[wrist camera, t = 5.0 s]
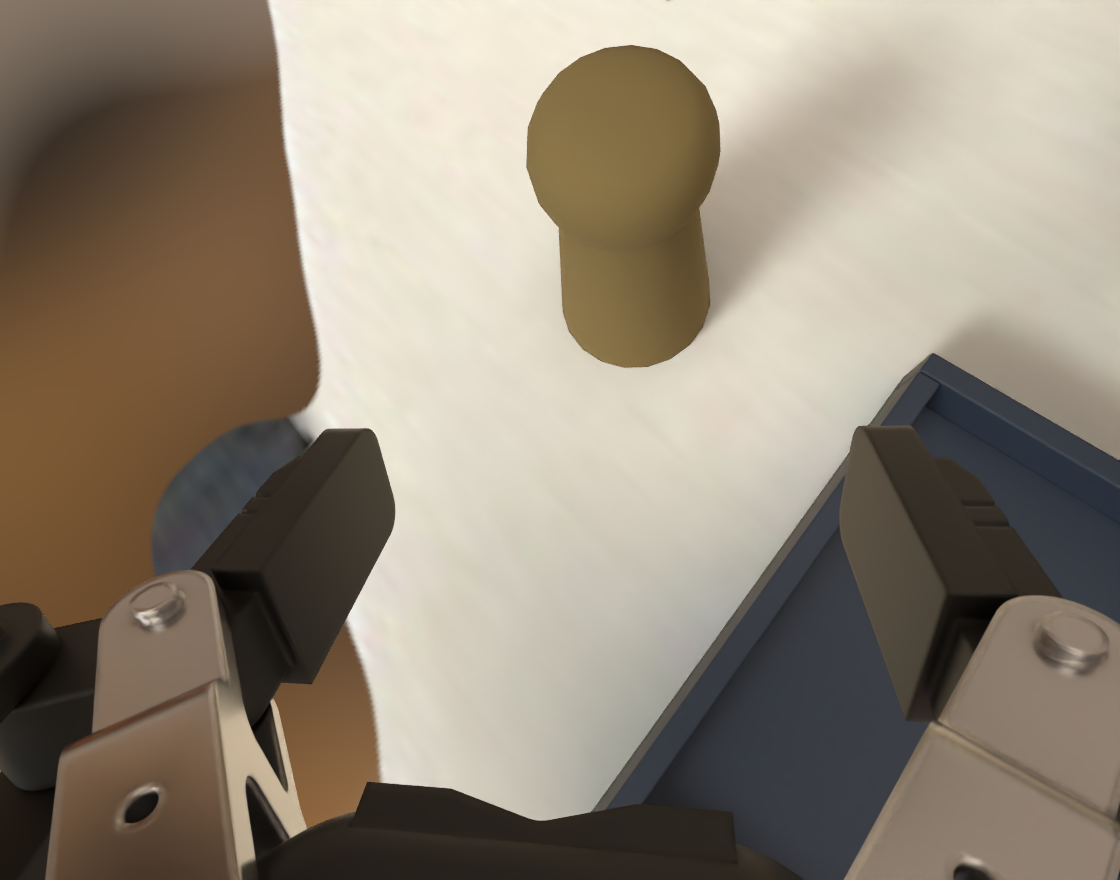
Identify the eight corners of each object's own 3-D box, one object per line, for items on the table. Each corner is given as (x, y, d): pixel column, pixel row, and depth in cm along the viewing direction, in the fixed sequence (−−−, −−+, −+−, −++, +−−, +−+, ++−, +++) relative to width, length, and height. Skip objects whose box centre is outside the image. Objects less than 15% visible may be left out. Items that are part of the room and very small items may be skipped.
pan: (903, 376, 24) (933, 351, 21) (1258, 588, 21) (1343, 589, 18) (581, 825, 22) (571, 857, 20) (912, 1128, 19) (952, 1214, 17)
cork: (735, 262, 26) (786, 42, 15) (669, 391, 25) (675, 254, 15) (602, 210, 27) (566, -24, 17) (536, 332, 27) (454, 167, 16)
